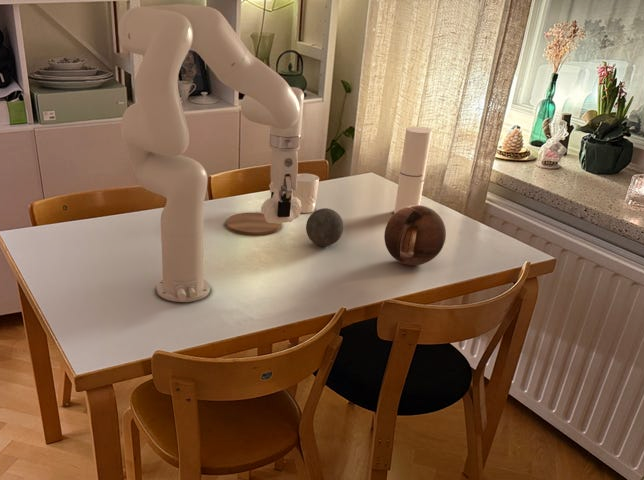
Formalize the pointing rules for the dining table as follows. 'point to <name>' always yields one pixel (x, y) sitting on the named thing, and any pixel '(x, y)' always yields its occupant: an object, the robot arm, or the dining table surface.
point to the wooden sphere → (415, 235)
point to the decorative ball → (324, 227)
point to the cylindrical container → (413, 167)
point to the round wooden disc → (251, 224)
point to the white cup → (306, 191)
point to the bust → (271, 207)
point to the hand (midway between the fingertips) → (279, 211)
